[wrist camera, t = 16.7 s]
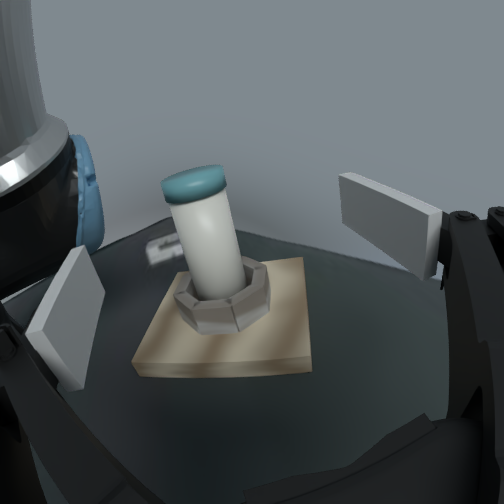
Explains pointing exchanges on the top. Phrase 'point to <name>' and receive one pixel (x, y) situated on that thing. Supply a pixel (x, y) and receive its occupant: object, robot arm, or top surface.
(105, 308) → the top surface
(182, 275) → the collar base
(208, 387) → the top surface
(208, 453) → the top surface
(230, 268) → the canister
